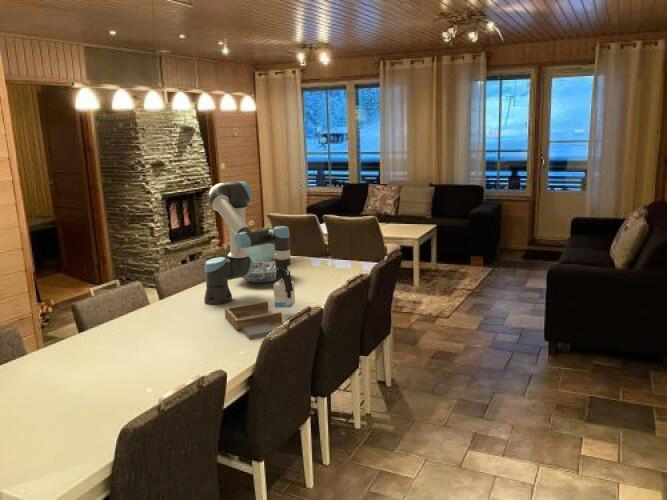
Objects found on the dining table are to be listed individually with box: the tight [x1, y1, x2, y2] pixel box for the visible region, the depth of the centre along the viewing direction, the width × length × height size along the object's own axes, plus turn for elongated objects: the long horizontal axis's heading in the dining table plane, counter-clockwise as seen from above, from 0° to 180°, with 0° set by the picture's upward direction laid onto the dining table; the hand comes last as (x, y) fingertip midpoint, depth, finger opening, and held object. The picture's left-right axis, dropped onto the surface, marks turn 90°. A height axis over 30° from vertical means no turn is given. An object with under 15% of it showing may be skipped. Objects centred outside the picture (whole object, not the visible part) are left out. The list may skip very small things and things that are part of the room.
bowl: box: [246, 229, 275, 262], centre depth 395 cm, size 35×35×22 cm
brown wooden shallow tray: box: [224, 300, 283, 332], centre depth 275 cm, size 23×22×5 cm
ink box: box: [273, 278, 296, 309], centre depth 280 cm, size 9×8×13 cm
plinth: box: [242, 323, 275, 340], centre depth 257 cm, size 12×12×2 cm
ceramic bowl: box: [242, 260, 290, 283], centre depth 350 cm, size 34×34×10 cm
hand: (284, 300), depth 281 cm, fingers closed on ink box, 11 cm apart
